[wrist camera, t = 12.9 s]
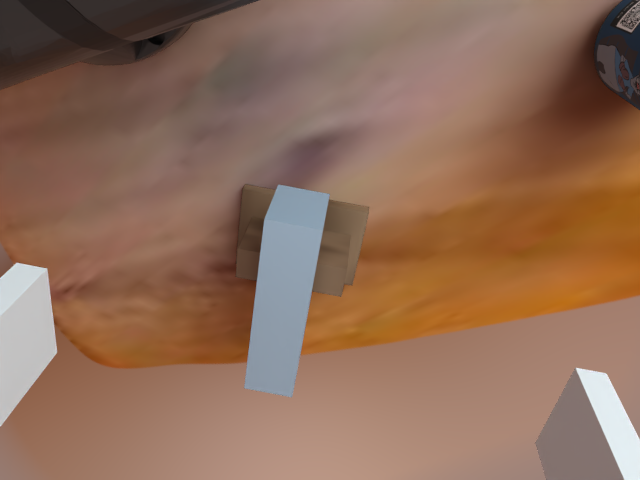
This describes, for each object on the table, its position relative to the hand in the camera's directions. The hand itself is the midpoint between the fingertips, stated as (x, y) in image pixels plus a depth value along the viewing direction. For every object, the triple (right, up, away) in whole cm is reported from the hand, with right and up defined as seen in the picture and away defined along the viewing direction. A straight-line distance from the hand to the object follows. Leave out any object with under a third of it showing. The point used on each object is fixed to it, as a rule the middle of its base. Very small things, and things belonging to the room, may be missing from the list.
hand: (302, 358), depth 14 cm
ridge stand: (-1, +4, +31) cm, 32 cm away
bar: (-2, 0, +26) cm, 26 cm away
